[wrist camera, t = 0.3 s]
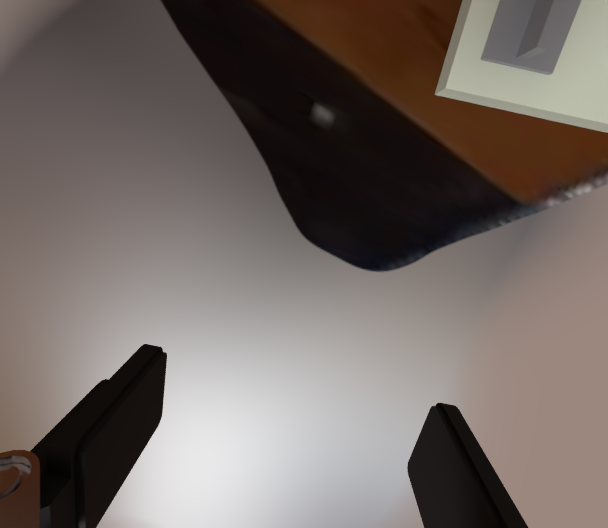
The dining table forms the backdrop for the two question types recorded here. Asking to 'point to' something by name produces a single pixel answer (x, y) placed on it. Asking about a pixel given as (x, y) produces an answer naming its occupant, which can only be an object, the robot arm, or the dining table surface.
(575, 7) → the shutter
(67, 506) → the robot arm
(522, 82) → the socket board
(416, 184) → the dining table surface
